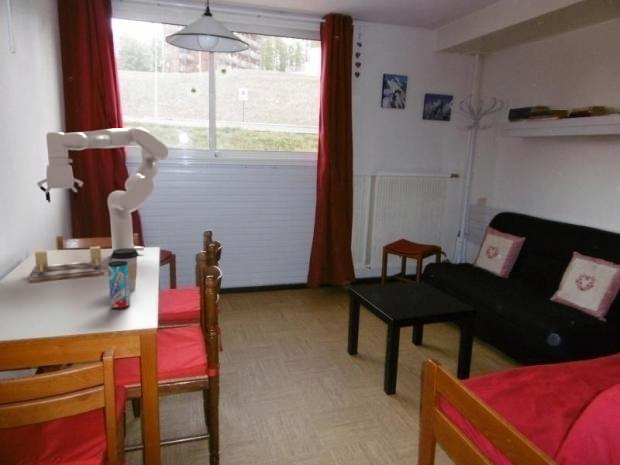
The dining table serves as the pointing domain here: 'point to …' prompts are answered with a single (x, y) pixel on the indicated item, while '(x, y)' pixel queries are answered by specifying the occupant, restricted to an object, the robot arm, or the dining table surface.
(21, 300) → the dining table surface
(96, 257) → the fixed leg
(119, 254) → the coffee cup
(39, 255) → the block
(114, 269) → the beverage can
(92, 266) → the board
